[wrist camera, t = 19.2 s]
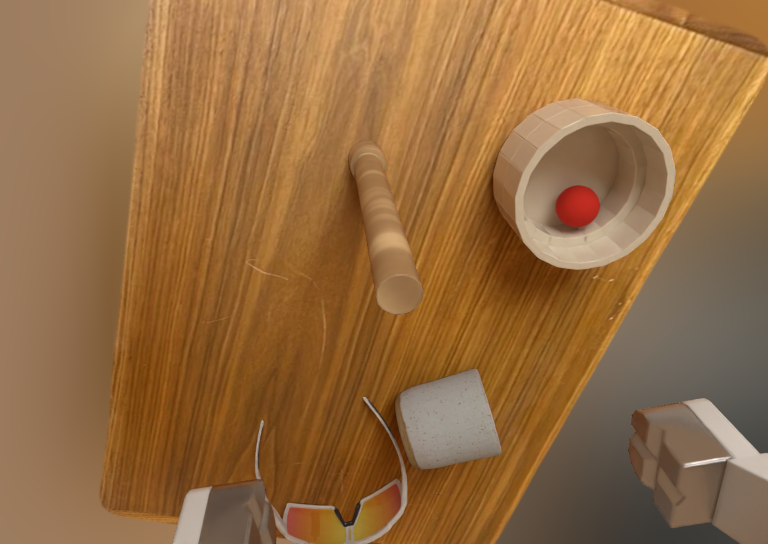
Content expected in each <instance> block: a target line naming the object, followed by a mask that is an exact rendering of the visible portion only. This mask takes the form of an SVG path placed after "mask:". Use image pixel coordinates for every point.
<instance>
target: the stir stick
mask: <svg viewBox="0 0 768 544" xmlns="http://www.w3.org/2000/svg"><path fill="white" fill-rule="evenodd" d="M349 164H350V170H351V173H352V175H353V176H354V177H355V178H356V181H357V187H358V193H359V199H360V205H361V211H362V217H363V223H364V229H365V235H366V241H367V247H368V253H369V259H370V265H371V271H372V277H373V283H374V289H375V295H376V300H377V303H378V305H379V306H380V307H381V308H382V309H383V310H384V311H386V312H388V313H390V314H394V315H401V314H406V313H409V312H411V311H412V310H414V309H415V308H416V307H417V306H418V305H419V304H420V302H421V300H422V297H423V288H422V285H421V282H420V279H419V275H418V272H417V269H416V266H415V263H414V260H413V257H412V254H411V251H410V248H409V245H408V242H407V239H406V235H405V232H404V229H403V226H402V223H401V220H400V217H399V214H398V211H397V208H396V205H395V202H394V199H393V195H392V192H391V189H390V186H389V183H388V180H387V177H386V174H385V170H386V160H385V157H384V155H383V152H382V150H381V148H380V147H379V146H378V145H377V144H376V143H374V142H371V141H361V142H359V143H357V144H356V145H354V146H353V147H352V149H351V151H350V153H349Z"/></svg>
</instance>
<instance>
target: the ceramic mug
mask: <svg viewBox="0 0 768 544" xmlns="http://www.w3.org/2000/svg"><path fill="white" fill-rule="evenodd" d="M395 411H396V417H397V422H398V427H399V431H400V435H401V439H402V443H403V446H404V449H405V452H406V455H407V457H408V459H409V461H410V463H411V465H412V466H414V467H415V468H417V469H433V468H440V467H444V466H448V465H452V464H456V463H461V462H466V461H471V460H476V459H481V458H486V457H491V456H496V455H499V454H501V446H500V442H499V439H498V435H497V431H496V427H495V423H494V420H493V416H492V413H491V410H490V407H489V404H488V400H487V397H486V394H485V391H484V388H483V385H482V382H481V379H480V376H479V373H478V370H477V369H471V370H468V371H465V372H462V373H458V374H454V375H451V376H448V377H445V378H441V379H438V380H435V381H432V382H429V383H425V384H421V385H418V386H414V387H411V388H409V389H407V390H405V391H403V392H401V393H400V394H399V395H398V396H397V398H396V400H395Z"/></svg>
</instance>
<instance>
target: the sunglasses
mask: <svg viewBox="0 0 768 544" xmlns="http://www.w3.org/2000/svg"><path fill="white" fill-rule="evenodd" d="M363 399H364V401H365V402H366V404H367V405H368V406H369V407H370V408H371V410H372V411H373V412H374V414H375V415H376V416H377V418H378V419H379V420H380V422H381V423H382V425H383V426H384V428H385V429H386V431H387V433H388V434H389V436H390V438H391V440H392V442H393V444H394V446H395V448H396V451H397V453H398V457H399V460H400V464H401V472H402V484H401V483H400V481H399V480H398V479H395V480H393V481H392V482H390V483H389V484H387V485H386V486H384V487H383V488H381V489H380V490H378V491H376V492H375V493H373V494H371V495H369V496H367V497H365V498H363V499H362V500H361V501H360V503H358V504H357V506H356V509H355V513H354V517H353V521H349V522H344V520H343V519H342V516H341V514H340V512H339V511H338V509H337V508H335V507H333V506H317V505H305V504H295V503H288V504H287V505H286V508H285V511H284V514H283V519H282V518H280V515H279V514H278V512H277V511H276V509H275V508H274V507H273V506H272V505H271V506H272V509H273V512H274V517H275V522H276V527H277V528H278V530H279V531H280V533H282V534H283V535H284V537H285V538H286V539H287V540H289V541H291V542H294V543H296V544H368V543H370V542H372V541H374V540H376V539H378V538H379V537H381V536H382V535H384V534H385V533H386V532H387V531H389V530H390V529H391V527H392V526H393V525H394V524H395V522H396V521H397V520H398V519H399V518H400V517H401V515H402V514H403V512H404V510H405V507H406V505H407V475H406V470H405V465H404V461H403V458H402V455H401V452H400V449H399V446H398V444H397V442H396V439H395V437H394V435H393V434H392V432H391V430H390V428H389V427H388V425H387V423H386V422H385V420H384V419H383V418H382V416H381V415H380V413H379V412H378V411H377V409H376V408H375V407H374V406H373V404H372V403H371V402H370V401H369V400H368V399H367V398H365V397H363ZM263 425H264V420H262V421H261V424H260V428H259V432H258V437H257V444H256V451H255V473H256V479H261V477H260V472H259V446H260V439H261V434H262V430H263ZM265 501H267V502H269V501H268V499H267V497H266V495H265Z"/></svg>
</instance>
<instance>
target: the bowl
mask: <svg viewBox="0 0 768 544" xmlns="http://www.w3.org/2000/svg"><path fill="white" fill-rule="evenodd" d="M675 171H676V170H675V166H674V161H673V156H672V152H671V149H670V146H669V145H668V143H667V142H666V141H665V139H664V138H663V136H662V135H661V133H660V132H659V130H657V128H655V127H653V126H652V125H650V124H649V123H647V122H645V121H644V120H642V119H641V118H639V117H637V116H634V115H632V114H629V113H627V112H624V111H622V110H619V109H617V108H614V107H612V106H609V105H607V104H604V103H602V102H599V101H593V100H588V99H582V98H574V99H568V100H562V101H556V102H553V103H551V104H549V105H547V106H545V107H543V108H541V109H539V110H537V111H535V112H533V113H532V114H530V115H529V116H528V117H527V118H526V119H524V120H523V121H522V122H521V123H520V124H519V125H518V126H517V127H516V128H515V129H514V130H513V131H512V132H511V134H510V135H509V137H508V139H507V140H506V142H505V143H504V145H503V147H502V148H501V150H500V152H499V155H498V158H497V162H496V165H495V169H494V173H493V187H494V198H495V201H496V203H497V206H498V208H499V211H500V213H501V215H502V217H503V218H504V219H505V220H506V222H507V223H508V224H509V225H510V227H511V228H512V229H513V230H514V232H515V233H516V234H517V235H518V237H519V238H520V239H521V240H522V242H523V243H524V244H525V245H526V246H527V247H528V248H529V249H530V250H531V251H532V253H533V254H534V255H535V256H536V257H537V258H538V259H541V260H543V261H545V262H547V263H549V264H551V265H553V266H555V267H558V268H566V269H574V270H583V269H589V268H595V267H601V266H605V265H607V264H609V263H611V262H613V261H616V260H618V259H620V258H622V257H625V256H626V255H628V254H629V253H630V252H631V251H633V250H634V249H635V248H637V247H638V246H639V245H640V244H642V243H643V242H644V241H645V240H646V239H647V238H648V237H649V236H650V234H651V233H652V232H653V231H654V229H655V228H656V227H657V225H658V224H659V223H660V222H661V220H662V219H663V217H664V214H665V212H666V210H667V207H668V205H669V203H670V201H671V198H672V195H673V189H674V181H675V173H676V172H675ZM575 185H581V186H586V187H588V188H590V189H592V190H593V191H594V192H595V193H596V195H597V196H598V198H599V202H600V209H599V212H598V215H597V217H596V218H595V219H594V220H593V221H592V222H591V223H590V224H588V225H586V226H583V227H571V226H568V225H566V224H564V223H563V222H562V221H561V220H560V219H559V218H558V216H557V213H556V201H557V198H558V197H559V195H560V194H561V193H562V192H563V191H564V190H565V189H567V188H569V187H571V186H575Z"/></svg>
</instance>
